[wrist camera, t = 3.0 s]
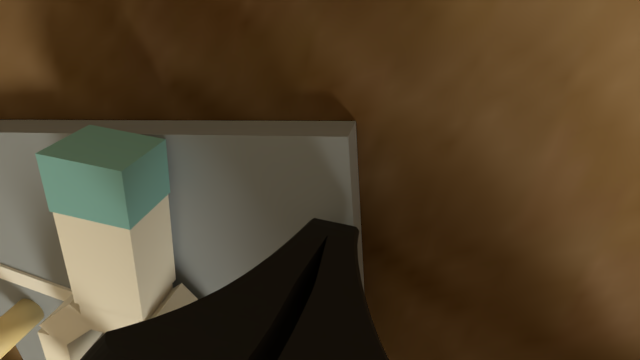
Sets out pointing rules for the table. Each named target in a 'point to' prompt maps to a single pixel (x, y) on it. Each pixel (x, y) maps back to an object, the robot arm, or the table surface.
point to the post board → (178, 204)
